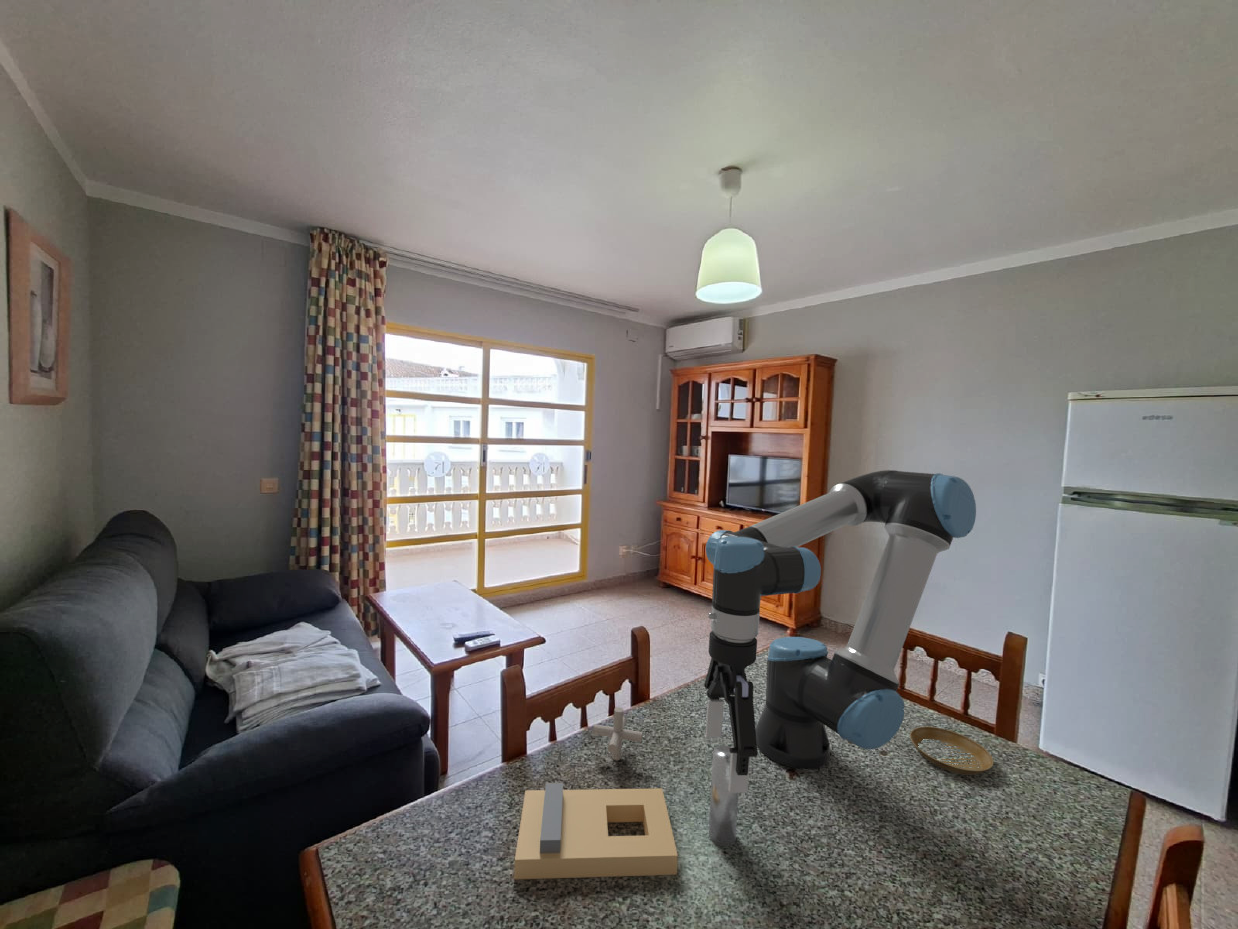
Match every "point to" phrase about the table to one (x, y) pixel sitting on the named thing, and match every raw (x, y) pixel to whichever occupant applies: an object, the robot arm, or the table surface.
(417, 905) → the table surface
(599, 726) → the pipe connector
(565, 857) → the jig
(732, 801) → the grey metal cylinder
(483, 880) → the table surface
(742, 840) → the table surface
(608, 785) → the table surface
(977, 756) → the plant saucer
